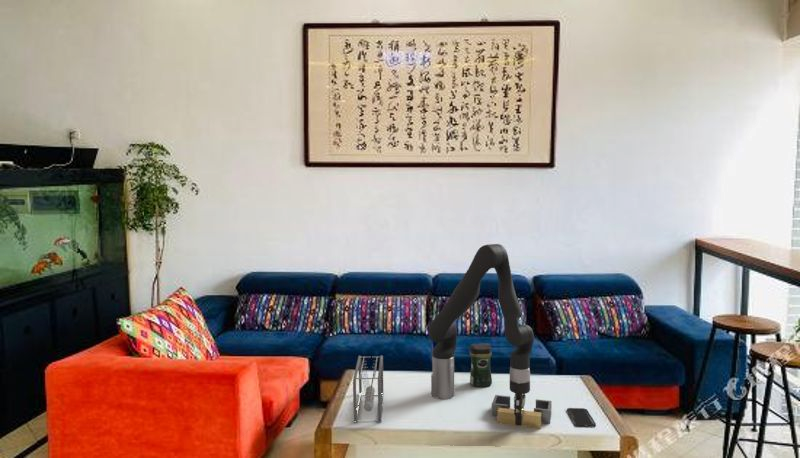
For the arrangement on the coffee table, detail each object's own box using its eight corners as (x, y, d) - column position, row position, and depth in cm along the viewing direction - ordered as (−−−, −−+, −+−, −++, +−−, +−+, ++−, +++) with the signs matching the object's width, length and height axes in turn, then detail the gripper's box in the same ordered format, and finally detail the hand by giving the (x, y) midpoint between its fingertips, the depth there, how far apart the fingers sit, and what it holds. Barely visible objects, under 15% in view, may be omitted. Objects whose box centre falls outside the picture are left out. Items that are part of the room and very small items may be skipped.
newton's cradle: (359, 394, 244) (358, 354, 242) (383, 393, 244) (382, 353, 242) (353, 424, 214) (352, 379, 212) (381, 424, 214) (380, 379, 212)
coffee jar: (489, 380, 257) (489, 340, 255) (493, 386, 249) (493, 346, 248) (468, 381, 256) (468, 341, 255) (472, 387, 249) (472, 347, 247)
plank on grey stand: (491, 416, 219) (491, 404, 219) (495, 406, 228) (495, 394, 228) (549, 423, 212) (550, 410, 212) (551, 413, 221) (551, 401, 221)
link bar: (497, 424, 213) (497, 411, 213) (498, 420, 216) (498, 407, 216) (540, 429, 208) (540, 416, 208) (541, 425, 212) (541, 412, 211)
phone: (586, 408, 224) (596, 425, 209) (586, 411, 224) (596, 427, 209) (566, 408, 225) (574, 424, 210) (566, 410, 225) (574, 427, 210)
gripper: (512, 371, 219) (511, 411, 220) (507, 384, 205) (507, 427, 207) (531, 372, 216) (531, 413, 218) (528, 386, 203) (528, 429, 204)
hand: (519, 420), depth 212 cm, fingers open, 8 cm apart
